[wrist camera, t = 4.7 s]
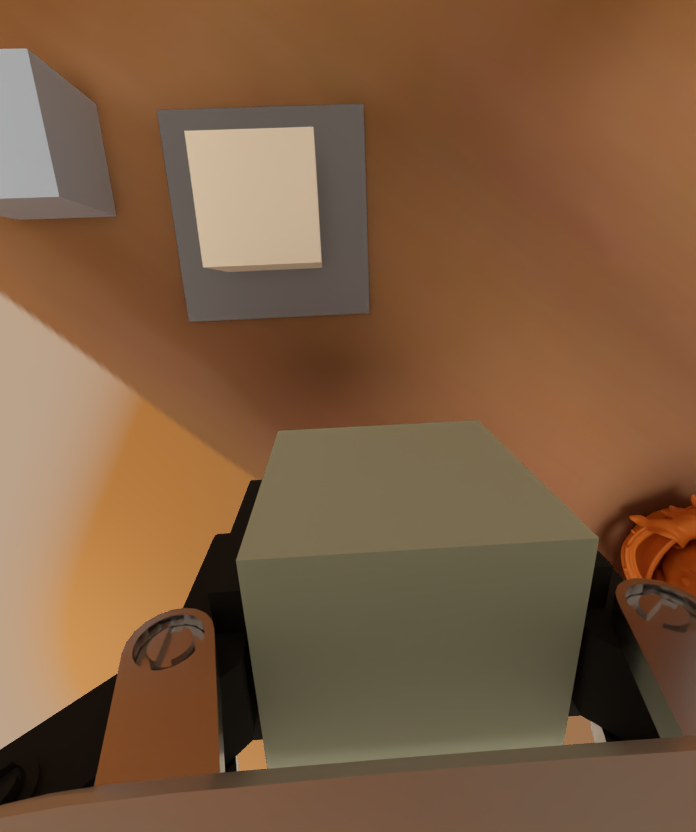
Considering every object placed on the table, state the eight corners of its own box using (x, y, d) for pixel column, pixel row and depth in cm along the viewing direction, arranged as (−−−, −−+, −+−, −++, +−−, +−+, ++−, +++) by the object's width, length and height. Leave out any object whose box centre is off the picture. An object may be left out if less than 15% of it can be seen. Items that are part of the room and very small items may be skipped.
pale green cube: (278, 430, 10) (235, 561, 6) (477, 419, 11) (599, 538, 6) (294, 594, 12) (272, 802, 7) (468, 583, 12) (556, 780, 7)
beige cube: (216, 166, 21) (184, 130, 16) (316, 163, 21) (313, 126, 16) (228, 272, 23) (202, 267, 18) (322, 267, 23) (321, 262, 18)
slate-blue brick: (-9, 107, 20) (-112, 51, 16) (96, 104, 20) (27, 48, 16) (19, 220, 22) (-68, 200, 17) (117, 216, 22) (59, 196, 17)
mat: (159, 113, 21) (156, 110, 20) (363, 106, 21) (363, 103, 21) (191, 321, 24) (189, 321, 23) (368, 312, 24) (369, 313, 24)
